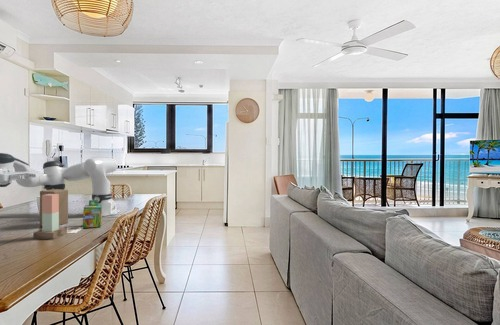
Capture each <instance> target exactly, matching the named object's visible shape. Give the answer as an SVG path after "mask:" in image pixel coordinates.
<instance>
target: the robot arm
mask: <svg viewBox="0 0 500 325" xmlns="http://www.w3.org/2000/svg"><path fill="white" fill-rule="evenodd" d="M118 166H119V163H118V160H116V159H115V158H112V157H90V158H88V159H86V160H85V161H84V162H81V163H77V164H74V165H71V166H69V167H65V164H63V163H62V162H60V161H58V160H53V159H52V160H48V161H46V162H44V163H43V165H42V170H43V172H41V171H38V170H34V169H33V168H31V166H30V165H29V163H27V162H25V161H24V160H21V159H19V158H16V157H15V156H13V155H12V154H9V153H6V152H0V188H6V187H8V186H9V185H11V184H12V182H13V181H15V182H16V183H17V184H18V185H19V186H21V187H24V188H36V187H41V186H43V190H51V189H62V190H66V182H65V181H68V182H76V181H81V180H84V179H89V178H90V179H91V186H92V187H91V188H92V194H91V200H98V205H102V217H106V216H115V215H117V214H118V213H119V212H121V209H120V208H119V209H118V206H117V205H118V204H117V202H116V201H114V199H113V196H114V193H111V181H110V179H108V178H107V174H110V173H113V172H116V171H117V169H118ZM91 204H93V205H94V204H96V203H95V202H92V203H91Z"/></svg>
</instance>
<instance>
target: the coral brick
mask: <svg viewBox="0 0 500 325" xmlns="http://www.w3.org/2000/svg"><path fill="white" fill-rule="evenodd" d="M56 212H59V194H46V195H42V213H45V214H52V213H56Z"/></svg>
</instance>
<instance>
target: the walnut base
mask: <svg viewBox="0 0 500 325" xmlns="http://www.w3.org/2000/svg"><path fill="white" fill-rule="evenodd" d="M67 234H68V233H67V227H59V229H58V230H55V231H53V232H43V231H42V229H40V230H37V231H34V232H33V234H32V235H33V239H34V240H56V239H57V238H60V237H64V235H67Z"/></svg>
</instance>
